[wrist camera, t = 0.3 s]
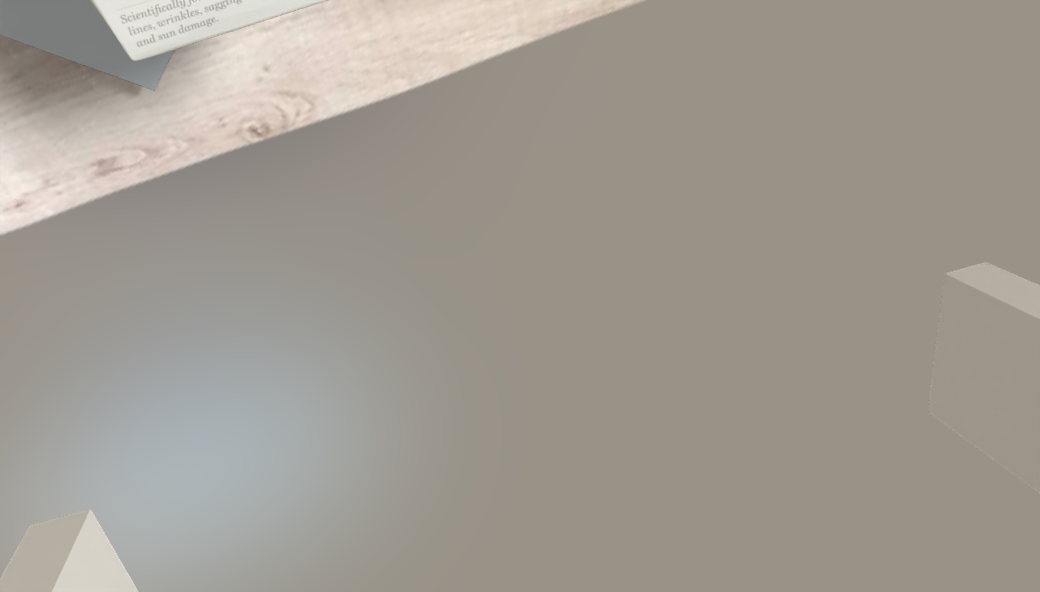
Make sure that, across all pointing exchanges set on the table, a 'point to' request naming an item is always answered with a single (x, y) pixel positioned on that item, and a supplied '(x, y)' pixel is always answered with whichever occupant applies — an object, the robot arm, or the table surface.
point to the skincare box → (184, 20)
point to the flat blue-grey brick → (77, 37)
